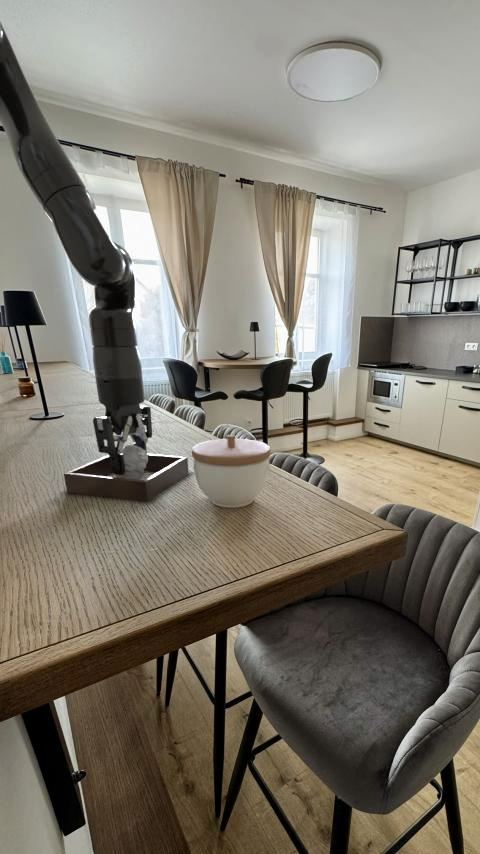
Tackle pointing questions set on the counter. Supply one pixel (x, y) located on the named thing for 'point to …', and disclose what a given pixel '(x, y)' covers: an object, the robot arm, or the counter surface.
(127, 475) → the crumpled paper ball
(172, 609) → the counter surface
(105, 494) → the square wooden tray
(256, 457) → the lidded bowl
